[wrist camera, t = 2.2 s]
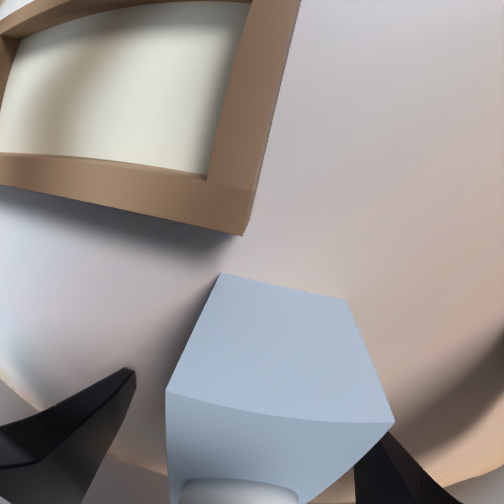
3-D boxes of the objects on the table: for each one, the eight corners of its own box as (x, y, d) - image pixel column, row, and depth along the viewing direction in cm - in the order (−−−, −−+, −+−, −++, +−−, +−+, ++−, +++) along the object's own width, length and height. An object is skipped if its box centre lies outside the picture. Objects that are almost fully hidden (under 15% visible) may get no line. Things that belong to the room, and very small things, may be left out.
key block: (344, 298, 8) (406, 455, 3) (273, 445, 11) (266, 542, 6) (221, 270, 8) (148, 427, 3) (195, 429, 11) (167, 525, 6)
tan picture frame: (302, -6, 5) (307, -38, 4) (249, 219, 8) (242, 236, 6) (21, 28, 5) (-2, 21, 4) (-12, 171, 8) (-38, 177, 6)
